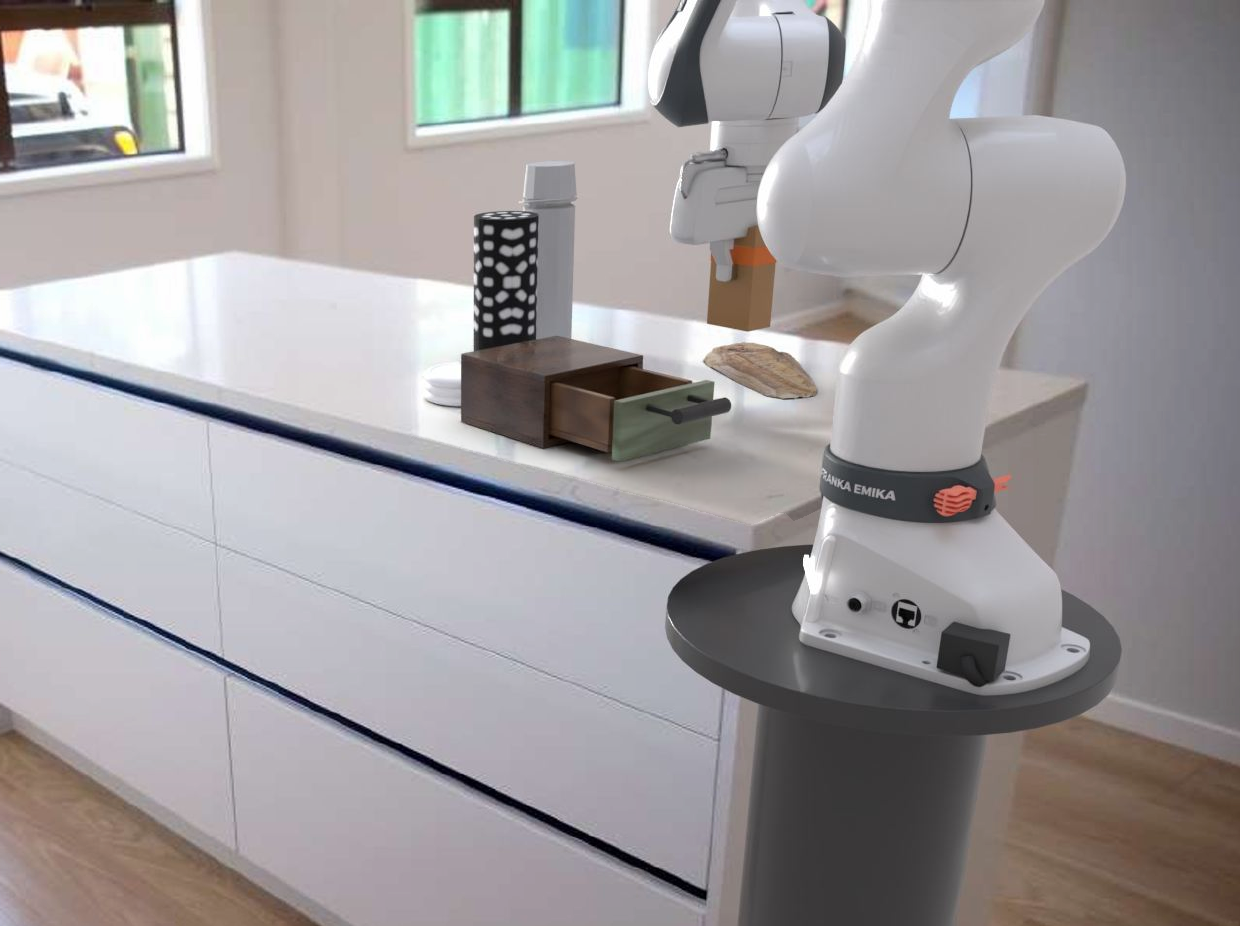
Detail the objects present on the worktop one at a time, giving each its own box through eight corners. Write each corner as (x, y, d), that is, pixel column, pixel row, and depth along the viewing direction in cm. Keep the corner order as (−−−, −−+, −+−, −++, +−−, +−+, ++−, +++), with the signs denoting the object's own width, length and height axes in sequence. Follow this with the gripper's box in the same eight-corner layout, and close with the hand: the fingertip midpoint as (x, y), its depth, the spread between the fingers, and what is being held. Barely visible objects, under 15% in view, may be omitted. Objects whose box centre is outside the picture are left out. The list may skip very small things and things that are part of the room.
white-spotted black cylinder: (547, 365, 191) (550, 212, 183) (513, 378, 185) (516, 221, 177) (495, 358, 196) (496, 209, 188) (461, 370, 190) (461, 217, 182)
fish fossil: (850, 394, 171) (850, 385, 170) (769, 407, 170) (769, 398, 169) (757, 345, 194) (757, 337, 193) (686, 356, 193) (686, 348, 192)
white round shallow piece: (408, 401, 176) (407, 373, 175) (453, 384, 183) (453, 357, 182) (475, 411, 170) (475, 383, 169) (519, 393, 177) (519, 366, 176)
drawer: (748, 449, 148) (753, 390, 146) (656, 473, 142) (660, 412, 140) (622, 414, 163) (624, 360, 161) (533, 435, 157) (534, 379, 154)
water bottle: (582, 349, 199) (588, 164, 189) (529, 354, 197) (533, 168, 188) (556, 336, 207) (560, 158, 197) (505, 341, 206) (507, 162, 196)
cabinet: (640, 425, 162) (643, 355, 159) (542, 448, 155) (544, 375, 152) (554, 401, 174) (556, 335, 170) (460, 421, 167) (460, 353, 163)
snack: (771, 327, 156) (779, 225, 152) (747, 332, 154) (756, 228, 150) (728, 319, 161) (736, 219, 156) (705, 323, 159) (712, 223, 155)
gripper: (706, 155, 142) (696, 293, 148) (840, 139, 152) (827, 269, 158) (660, 152, 147) (653, 286, 153) (793, 136, 157) (782, 263, 163)
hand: (742, 277), depth 155 cm, fingers closed on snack, 4 cm apart
